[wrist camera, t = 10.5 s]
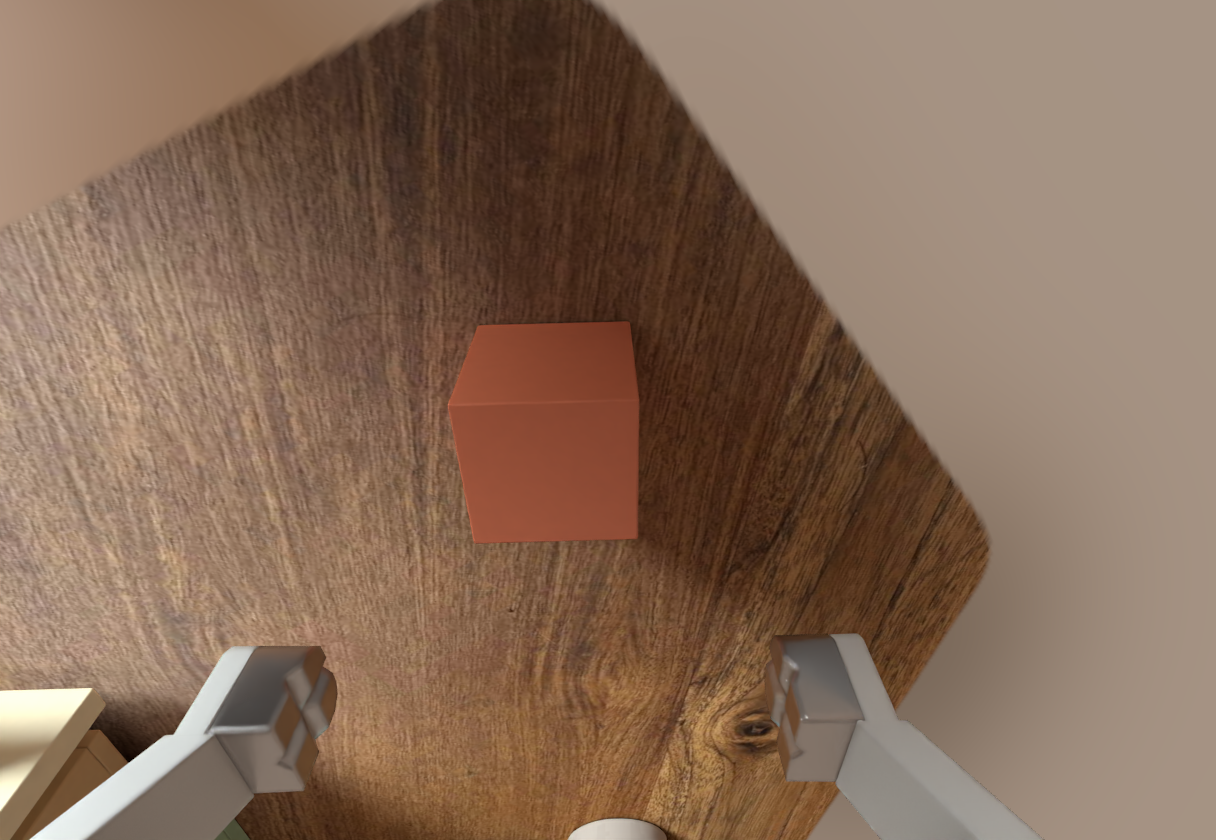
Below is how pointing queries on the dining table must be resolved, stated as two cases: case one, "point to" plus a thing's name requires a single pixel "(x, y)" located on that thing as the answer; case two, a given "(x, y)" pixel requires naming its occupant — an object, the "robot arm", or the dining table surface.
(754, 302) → the dining table surface
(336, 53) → the dining table surface
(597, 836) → the coffee cup
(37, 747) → the drawer
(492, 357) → the block
